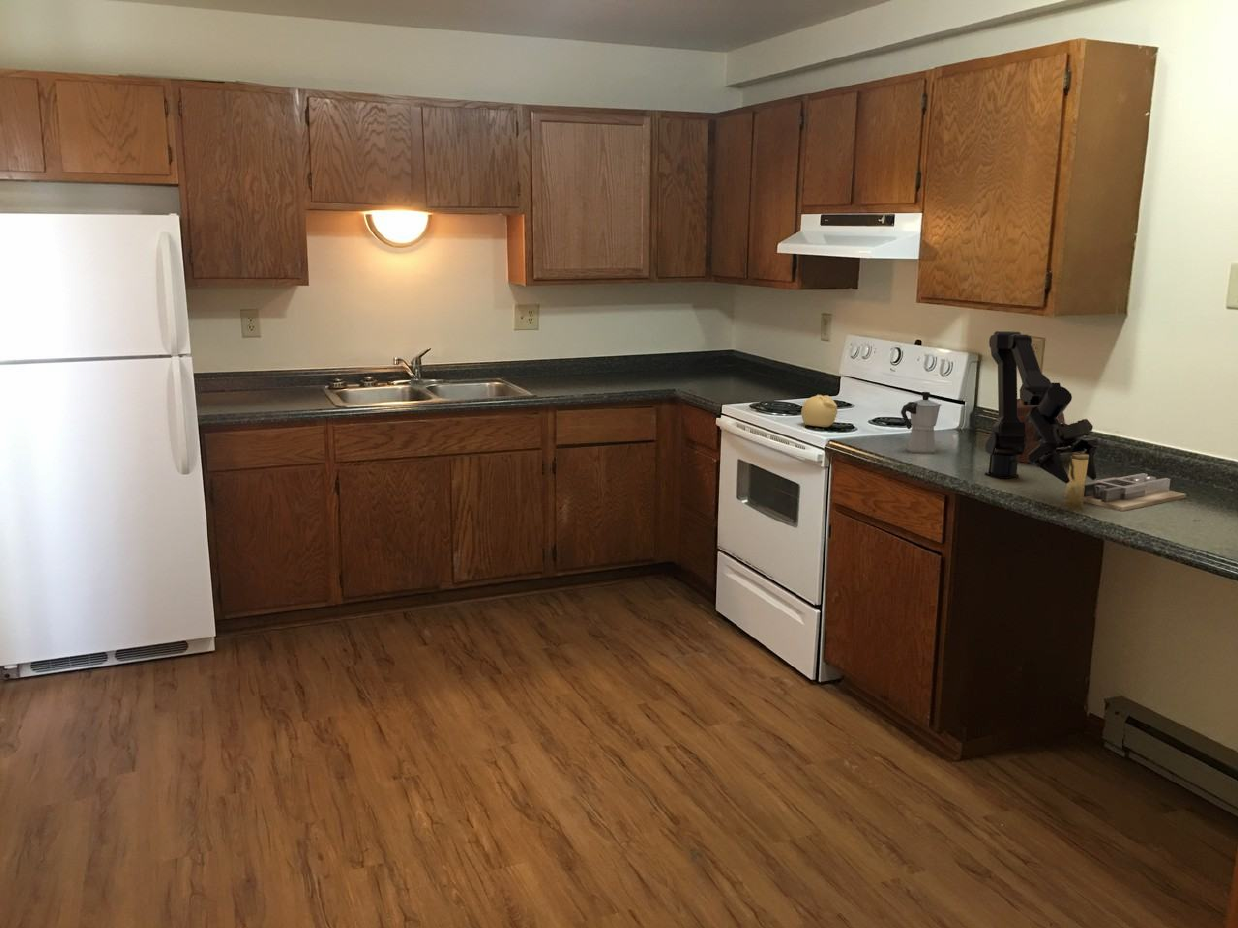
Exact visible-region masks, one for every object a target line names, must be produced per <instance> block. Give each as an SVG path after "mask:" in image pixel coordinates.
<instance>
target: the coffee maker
mask: <svg viewBox="0 0 1238 928" xmlns="http://www.w3.org/2000/svg"><path fill="white" fill-rule="evenodd" d="M930 394H931V392H929V391H922V392H921V397H922V399H920V400H915V401H909V402H908V403H907V404H905V405H903V406H902V409H901V410H900V414H901V416H902V419H903V421H904V423H905V426H906V428H907V430H911V432H910V436H909V438H908V439H909V441H908V444H907V448H906V451H908V452H911V453H913V454H923V455H924V454H925V455H926V454H927V455H928V454H935V453H936V442H935V441H936V439H935V427H936V425H937V422H938V417H939V412H940V408H941V406H942V404H939V403H938V402H935V401H932V400H929V398H930ZM907 413H910V419H909V417H908V415H907Z"/></svg>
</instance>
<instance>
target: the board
mask: <svg viewBox="0 0 1238 928" xmlns="http://www.w3.org/2000/svg"><path fill="white" fill-rule="evenodd" d="M1186 495H1187V494H1186V493H1182V492H1178V491H1174V490H1170V489H1169V490H1168V491H1163V492H1158V493H1153V494H1148V495H1145V496H1143V497H1138V498H1133V499H1128V500H1117V501H1112V502H1107V503H1104V502H1101V499H1095V498H1093V495H1092V496H1087V497H1084V499H1083V503H1086V504H1087V503H1088V504H1091V505H1095V506H1098V507H1099V506H1100V507H1104V508H1108V509H1112V510H1117V511H1120V512H1124V511H1129V510H1134V509H1138V508H1144V507H1148V506H1153V505H1157V504H1158V505H1159V504H1162V503H1163V504H1164V503H1168V502H1171V501H1178V500H1182V499H1186ZM1061 496H1062V497H1064V498H1065V496H1066V491H1062V493H1061Z"/></svg>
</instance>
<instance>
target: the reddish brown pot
mask: <svg viewBox="0 0 1238 928" xmlns="http://www.w3.org/2000/svg"><path fill="white" fill-rule="evenodd" d="M1034 407H1035V406H1026V405H1024V404H1023V403H1022V401H1021V399H1020V398H1017V408H1018V418H1019V419H1020V421H1021V422H1024V423H1025V434H1026V438H1027V442H1026V446H1025V449H1024V452H1023V455H1017V461H1018V462H1019V463H1029V464H1031V463H1030V461H1029V459H1028V455H1029V453H1030V452H1031V451H1032V450H1033V449H1035V448H1036V447H1037V446H1038V445H1039V444H1040V443H1044V442H1043V441H1038V440H1037V437H1038V436H1039V434H1038V432H1037V431H1036V429H1035V427H1034V426H1033V424H1032V422H1029V423H1026V416H1027V412H1029V411H1031V410H1032V409H1033V408H1034ZM998 418H999V413H998V414H997V419H998ZM1058 419H1059V421H1060V422H1061V424H1064V423H1066V422H1065V415H1064V411H1063V412H1062V414H1061V415H1060V416H1058Z"/></svg>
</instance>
